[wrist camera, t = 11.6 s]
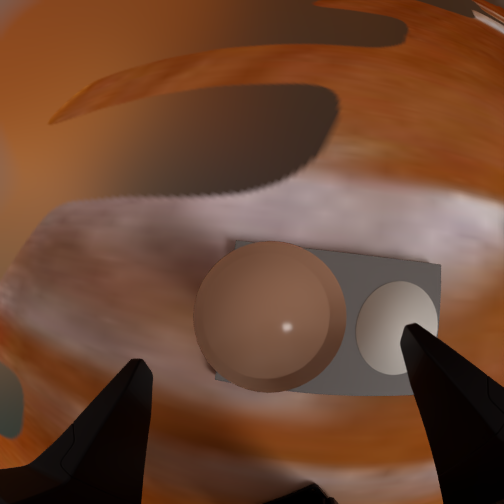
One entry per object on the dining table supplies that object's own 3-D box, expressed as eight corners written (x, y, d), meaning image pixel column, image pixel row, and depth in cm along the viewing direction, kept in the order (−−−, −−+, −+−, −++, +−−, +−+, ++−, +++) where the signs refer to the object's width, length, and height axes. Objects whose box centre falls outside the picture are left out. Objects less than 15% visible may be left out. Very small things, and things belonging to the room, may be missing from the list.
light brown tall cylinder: (288, 368, 17) (297, 441, 6) (225, 331, 19) (139, 342, 7) (326, 305, 18) (394, 277, 7) (263, 269, 19) (233, 190, 8)
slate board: (435, 267, 19) (441, 264, 18) (422, 391, 17) (428, 393, 16) (238, 244, 21) (236, 240, 20) (218, 377, 19) (214, 379, 18)
